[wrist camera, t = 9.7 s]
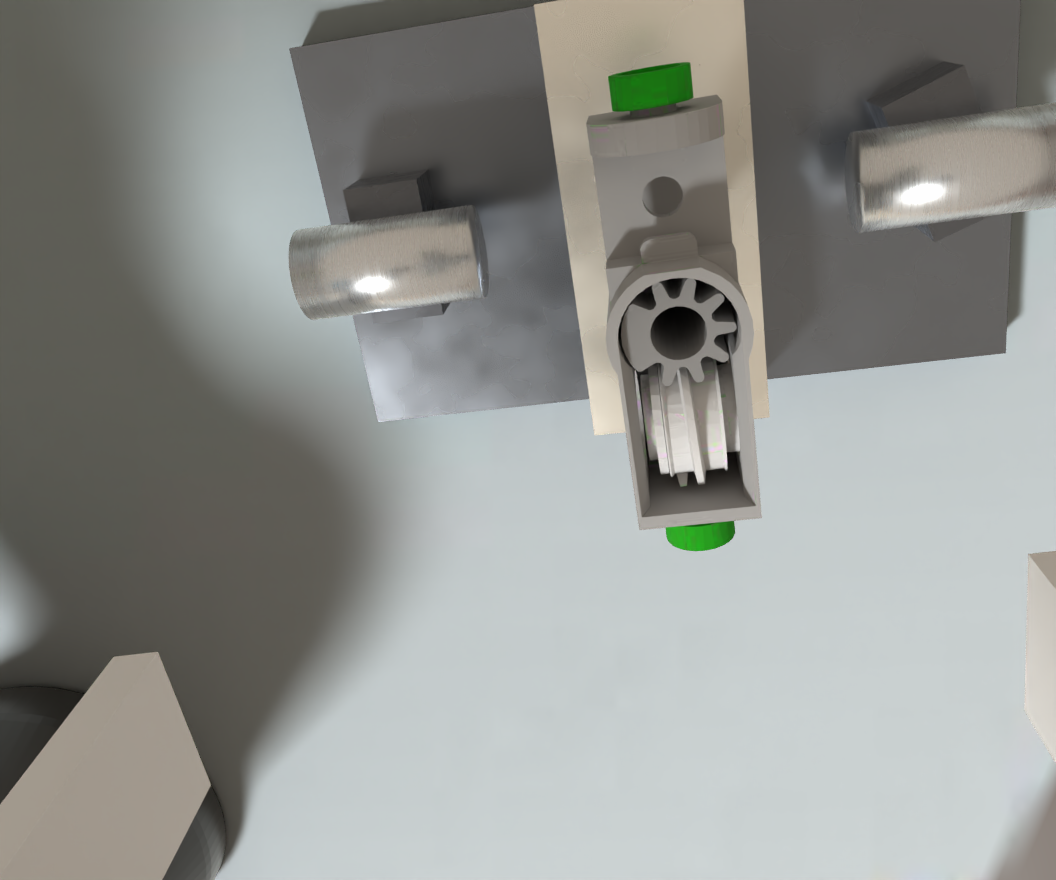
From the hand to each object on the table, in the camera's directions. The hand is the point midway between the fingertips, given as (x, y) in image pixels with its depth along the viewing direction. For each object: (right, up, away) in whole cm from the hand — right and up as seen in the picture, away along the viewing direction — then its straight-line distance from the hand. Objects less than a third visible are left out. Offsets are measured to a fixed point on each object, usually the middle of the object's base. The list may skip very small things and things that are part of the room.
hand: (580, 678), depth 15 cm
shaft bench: (+4, +12, +18) cm, 22 cm away
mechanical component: (+3, +10, +14) cm, 18 cm away
